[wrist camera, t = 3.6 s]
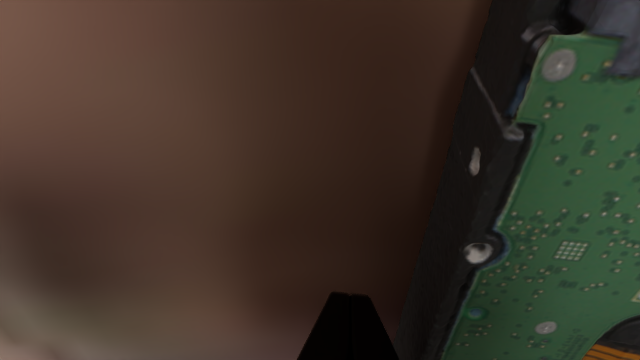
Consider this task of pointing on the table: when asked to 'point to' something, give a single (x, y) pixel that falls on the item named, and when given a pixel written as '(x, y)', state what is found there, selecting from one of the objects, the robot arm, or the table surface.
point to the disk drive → (537, 195)
